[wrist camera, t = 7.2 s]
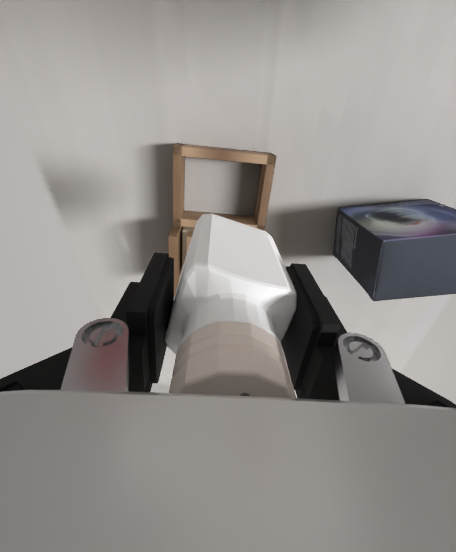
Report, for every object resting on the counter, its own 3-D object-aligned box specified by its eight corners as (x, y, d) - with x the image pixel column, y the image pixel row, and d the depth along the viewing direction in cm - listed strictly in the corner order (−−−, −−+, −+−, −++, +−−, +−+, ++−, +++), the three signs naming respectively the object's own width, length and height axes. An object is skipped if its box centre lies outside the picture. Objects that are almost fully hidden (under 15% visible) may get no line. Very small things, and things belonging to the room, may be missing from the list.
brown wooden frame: (271, 153, 28) (282, 160, 23) (251, 274, 35) (257, 301, 30) (177, 143, 28) (167, 148, 23) (176, 269, 35) (168, 295, 30)
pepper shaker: (247, 292, 16) (274, 472, 8) (180, 273, 16) (134, 449, 7) (274, 231, 14) (347, 381, 6) (201, 206, 14) (170, 338, 5)
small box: (431, 194, 31) (519, 225, 22) (417, 247, 34) (489, 293, 25) (336, 204, 31) (385, 239, 22) (331, 256, 35) (372, 305, 25)
